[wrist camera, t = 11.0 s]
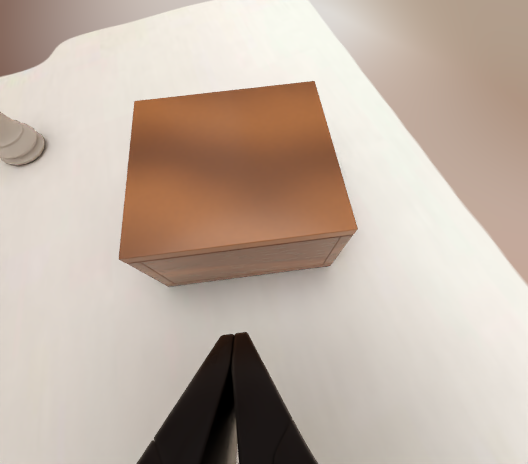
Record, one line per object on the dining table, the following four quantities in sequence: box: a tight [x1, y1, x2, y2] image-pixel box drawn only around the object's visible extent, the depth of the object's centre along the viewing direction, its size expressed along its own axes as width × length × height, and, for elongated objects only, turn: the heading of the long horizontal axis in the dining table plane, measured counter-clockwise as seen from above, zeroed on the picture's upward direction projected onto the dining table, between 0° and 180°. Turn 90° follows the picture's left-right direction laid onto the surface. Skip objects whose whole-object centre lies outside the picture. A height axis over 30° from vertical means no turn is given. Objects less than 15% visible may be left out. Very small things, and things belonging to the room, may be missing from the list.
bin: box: [127, 234, 353, 287], centre depth 21 cm, size 12×14×7 cm
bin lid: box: [119, 81, 358, 263], centre depth 18 cm, size 12×14×1 cm
